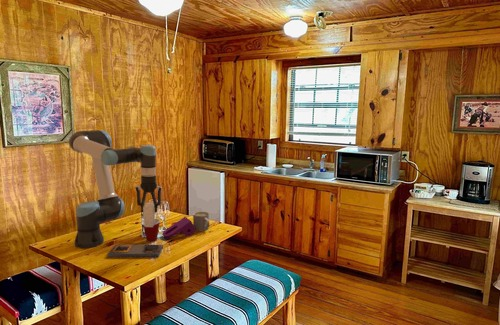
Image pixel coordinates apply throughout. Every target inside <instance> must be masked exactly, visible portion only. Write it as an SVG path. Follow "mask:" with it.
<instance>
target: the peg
mask: <svg viewBox="0 0 500 325" xmlns="http://www.w3.org/2000/svg"><path fill="white" fill-rule="evenodd" d="M153 206H154V203H153V202H145V204H144V219H143V221H144V227H153V226H154V225H155V219H153Z"/></svg>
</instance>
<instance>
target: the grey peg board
mask: <svg viewBox="0 0 500 325" xmlns="http://www.w3.org/2000/svg"><path fill="white" fill-rule="evenodd" d="M163 249H164V244H115V245H114V246H113V247H112V248H111V250H110V251H109V252H108V253H107V258H159V257H160V255H161V253H162V251H163Z"/></svg>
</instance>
